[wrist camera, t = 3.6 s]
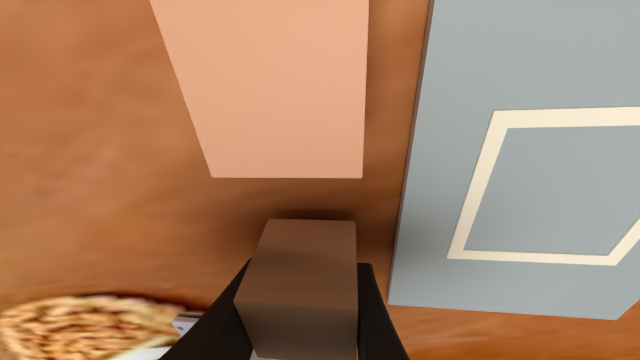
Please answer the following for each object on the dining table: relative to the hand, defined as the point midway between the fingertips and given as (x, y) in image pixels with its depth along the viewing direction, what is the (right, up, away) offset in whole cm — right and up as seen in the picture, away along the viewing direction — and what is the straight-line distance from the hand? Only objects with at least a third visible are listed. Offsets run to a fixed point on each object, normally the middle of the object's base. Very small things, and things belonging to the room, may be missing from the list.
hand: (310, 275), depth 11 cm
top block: (0, +8, -2) cm, 8 cm away
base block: (0, +1, +1) cm, 2 cm away
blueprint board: (+10, +4, -1) cm, 11 cm away
